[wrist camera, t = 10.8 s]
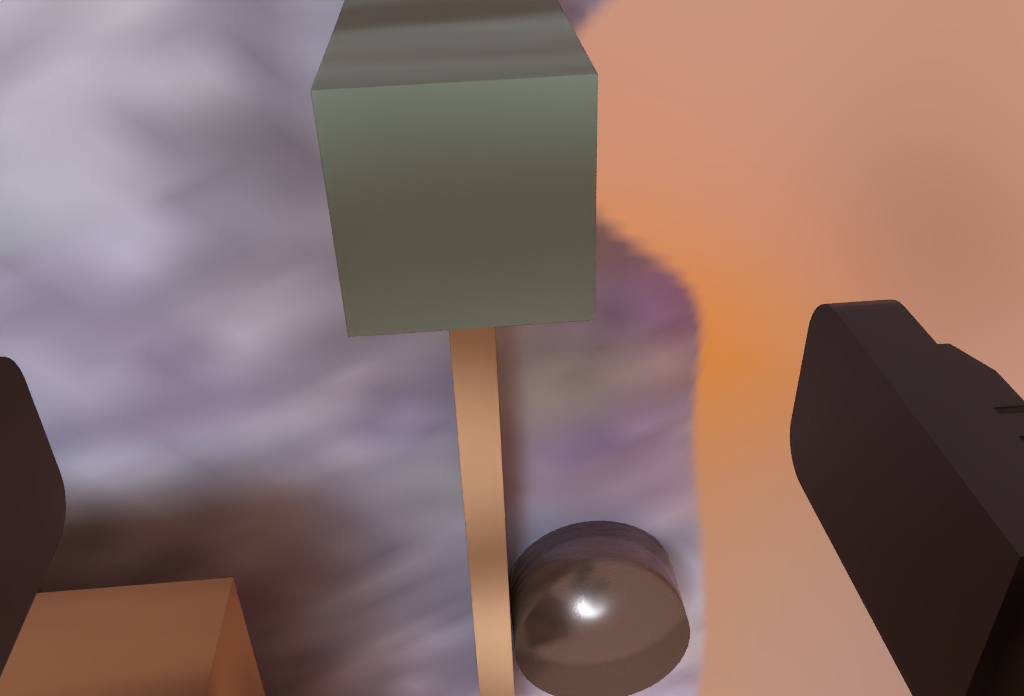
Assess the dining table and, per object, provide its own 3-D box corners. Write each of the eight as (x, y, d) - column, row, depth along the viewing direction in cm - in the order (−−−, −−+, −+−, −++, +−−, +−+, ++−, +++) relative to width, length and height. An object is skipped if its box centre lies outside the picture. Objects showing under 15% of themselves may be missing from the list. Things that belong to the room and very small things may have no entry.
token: (496, 533, 27) (502, 597, 25) (665, 505, 27) (685, 568, 25) (520, 645, 30) (527, 713, 28) (674, 621, 30) (693, 686, 28)
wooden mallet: (349, -11, 19) (310, 90, 13) (545, -21, 19) (597, 74, 13) (435, 693, 30) (436, 916, 24) (556, 683, 31) (587, 902, 25)
